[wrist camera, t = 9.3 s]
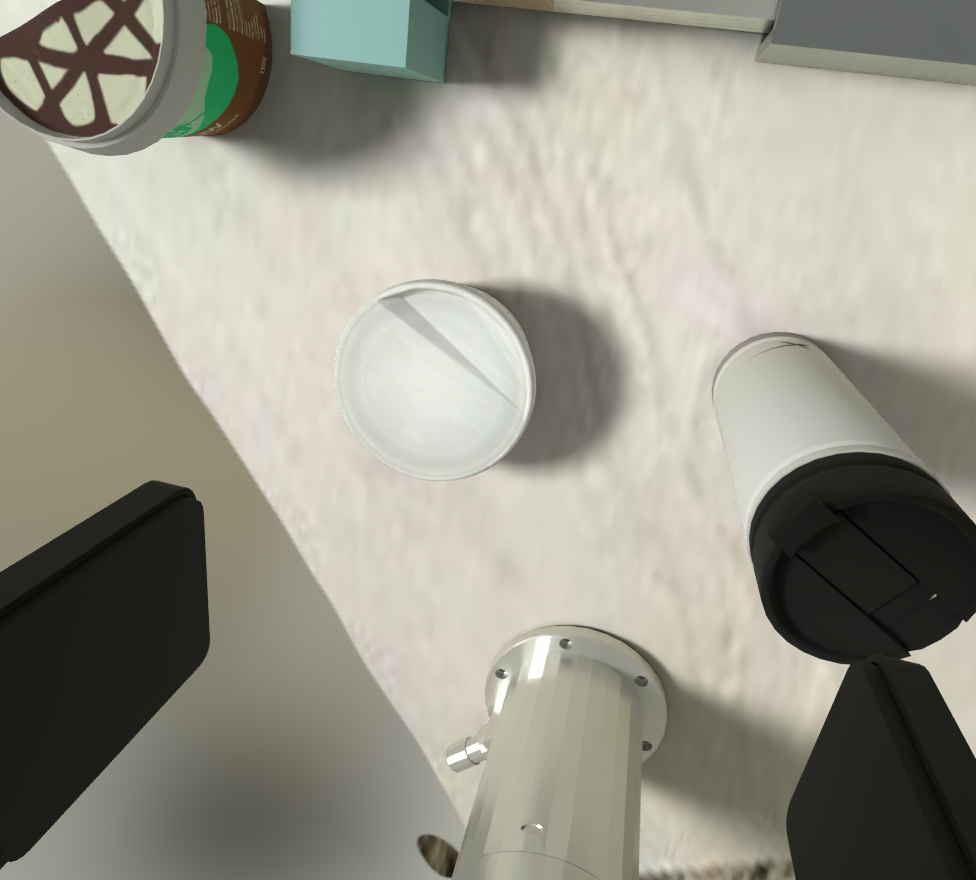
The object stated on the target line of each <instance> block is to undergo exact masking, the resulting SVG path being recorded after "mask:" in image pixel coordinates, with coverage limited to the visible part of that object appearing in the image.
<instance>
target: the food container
mask: <svg viewBox="0 0 976 880" xmlns="http://www.w3.org/2000/svg"><path fill="white" fill-rule="evenodd" d="M271 62H272V39H271V32H270V26H269V21H268V17H267V14H266V10H265V7H264V4H262V3H260V2H259V1H257V0H61V1H59V2H57V3H55V4H53V5H52V6H50V7H49V8H47V9H46V10H44V11H43V12H41V13H40V14H38V15H37V16H36V17H34V18H33V19H31V20H30V21H28V22H27V23H25V24H23V25H22V26H20V27H18V28H17V29H15V30H13V31H11V32H9V33H7V34H5V35H3V36H1V37H0V109H1V110H2V111H3V112H4V113H5V114H6V115H7V116H9V117H10V118H12V119H13V120H15V121H16V122H17V123H19V124H21V125H22V126H24V127H26V128H27V129H29V130H30V131H32V132H33V133H35V134H37V135H39V136H41V137H43V138H45V139H47V140H49V141H52V142H55V143H58V144H61V145H64V146H68V147H71V148H74V149H77V150H80V151H84V152H87V153H90V154H96V155H105V156H116V155H127V154H130V153H133V152H137V151H140V150H143V149H145V148H147V147H148V146H150V145H152V144H154V143H156V142H158V141H159V140H160V139H161V138H173V137H189V136H206V135H219V134H223V133H226V132H230V131H231V130H233V129H235V128H237V127H239V126H240V125H241V124H243V123H244V122H245V121H246V120H247V119H249V117H250V116H251V115H252V114H253V113H254V111H255V110H256V109H257V107H258V105H259V103H260V102H261V100H262V98H263V96H264V93H265V90H266V88H267V85H268V81H269V76H270V72H271Z"/></svg>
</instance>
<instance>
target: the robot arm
mask: <svg viewBox="0 0 976 880" xmlns="http://www.w3.org/2000/svg"><path fill="white" fill-rule="evenodd" d="M204 531H205V530H204V511H203V506H202V504H201V502H199V501H198V500H196V497H195V495H194V493H193V491H192V490H190V489H189V488H185V487H181V486H177V485H173V484H169V483H164V482H160V481H149V482H147V483H145V484H143V485H142V486H140V487H138V488H137V489H135V490H133V491H132V492H131V493H129V494H127V495H125V496H124V497H122V498H120V499H119V500H117V501H116V502H114V503H112V504H111V505H109V506H107V507H106V508H104V509H102V510H101V511H99V512H98V513H96V514H94V515H93V516H91V517H90V518H88V519H86V520H85V521H83V522H81V523H80V524H78V525H76V526H75V527H73V528H72V529H70V530H68V531H67V532H65V533H63V534H62V535H60V536H59V537H57V538H55V539H54V540H52V541H50V542H49V543H47V544H46V545H44V546H42V547H41V548H39V549H37V550H36V551H34V552H33V553H31V554H29V555H28V556H26V557H24V558H23V559H21V560H19V561H18V562H16V563H15V564H13V565H11V566H10V567H8V568H6V569H5V570H3V571H1V572H0V869H1V868H2V867H3V866H4V865H5V864H6V863H7V862H8V861H9V862H12V861H16V860H18V859H19V858H21V857H23V856H24V855H25V854H26V853H27V852H28V851H29V850H30V849H31V848H32V847H33V846H34V845H35V844H36V843H37V842H38V840H40V838H41V837H42V836H43V835H44V834H45V833H46V832H47V831H48V830H49V829H50V828H51V826H52V825H53V824H54V823H55V822H56V821H57V820H58V819H59V818H60V817H61V816H62V815H63V814H64V812H65V811H66V810H67V809H68V808H69V807H70V806H71V805H72V804H73V803H74V802H75V801H76V799H77V798H78V797H79V796H80V795H81V794H82V793H83V792H84V791H85V790H86V788H87V787H88V786H89V785H90V784H91V783H92V782H93V781H94V780H95V779H96V778H97V777H98V776H99V774H100V773H101V772H102V771H103V770H104V769H105V768H106V767H107V766H108V765H109V764H110V762H111V761H112V760H113V759H114V758H115V757H116V756H117V755H118V754H119V753H120V752H121V751H122V749H123V748H124V747H125V746H126V745H127V744H128V743H129V742H130V741H131V740H132V739H133V738H134V737H135V735H136V734H137V733H138V732H139V731H140V730H141V729H142V728H143V727H144V726H145V725H146V724H147V722H148V721H149V720H150V719H151V718H152V717H153V716H154V715H155V714H156V713H157V712H158V710H159V709H160V708H161V707H162V706H163V705H164V704H165V703H166V702H167V701H168V699H169V698H170V697H171V696H172V695H173V694H174V693H175V692H176V691H177V690H178V689H179V688H180V687H181V686H182V684H183V683H184V682H185V681H186V680H187V679H188V678H189V677H190V676H191V675H192V674H193V673H194V671H195V670H196V669H197V668H198V667H199V666H200V665H201V663H202V662H203V660H204V658H205V657H206V654H207V652H208V649H209V645H210V633H209V615H208V614H209V612H208V591H207V571H206V552H205V532H204ZM485 703H486V707H487V710H488V714H489V717H490V721H489V724H487V725H485V726H482V727H481V728H480V730H479V731H478V735H475V736H473V737H467V738H465V739H463V740H460V741H458V742H456V743H453V744H451V745H450V746H448V748H447V751H446V758H447V761H448V764H449V766H450V767H451V769H452V770H453V771H455V772H461V771H463V770H466V769H468V768H471V767H473V766H475V765H478V764H479V763H480V762H482V761H484V760H486V763H485V766H484V770H483V773H482V776H481V780H480V783H479V787H478V790H477V794H476V797H475V800H474V804H473V807H472V811H471V814H470V818H469V821H468V825H467V828H466V831H465V835H464V839H463V842H462V845H461V849H460V852H459V855H458V859H457V862H456V866H455V869H454V873H453V876H452V879H451V880H639V849H640V814H641V778H642V763H643V762H644V761H646V760H647V759H649V758H650V756H651V755H652V754H653V753H654V752H655V751H656V749H657V748H658V747H659V745H660V743H661V741H662V739H663V737H664V734H665V729H666V724H667V704H666V698H665V692H664V690H663V687H662V685H661V682H660V680H659V678H658V676H657V675H656V673H655V672H654V671H653V669H652V668H651V666H650V665H649V664H648V663H647V662H646V661H645V660H644V659H643V658H642V657H641V656H640V655H639V654H638V653H637V652H636V651H634V650H633V649H632V648H630V647H629V646H627V645H626V644H625V643H623V642H621V641H619V640H617V639H615V638H613V637H611V636H609V635H607V634H604V633H601V632H598V631H595V630H592V629H588V628H581V627H575V626H551V627H545V628H539V629H535V630H533V631H530V632H527V633H525V634H522V635H520V636H519V637H517V638H515V639H514V640H512V641H511V642H509V643H508V644H507V645H506V646H505V647H504V648H503V649H502V650H501V651H500V652H499V653H498V655H497V657H496V658H495V660H494V661H493V663H492V666H491V669H490V671H489V674H488V677H487V681H486V687H485ZM786 825H787V836H788V841H789V847H790V852H791V857H792V862H793V867H794V873H795V878H796V880H976V758H975V757H974V755H973V753H972V751H971V749H970V747H969V745H968V744H967V742H966V740H965V738H964V736H963V734H962V732H961V731H960V729H959V727H958V725H957V723H956V721H955V719H954V717H953V716H952V714H951V712H950V710H949V708H948V706H947V704H946V703H945V701H944V699H943V697H942V695H941V693H940V691H939V690H938V688H937V686H936V684H935V682H934V680H933V678H932V676H931V675H930V673H929V671H928V670H927V669H926V668H925V667H924V666H922V665H920V664H916V663H912V662H908V661H904V660H900V659H896V658H891V657H887V656H883V655H879V654H872V655H870V656H869V657H868V658H867V659H866V661H865V662H860V661H854V662H853V663H852V664H851V665H850V666H849V668H848V670H847V672H846V675H845V677H844V679H843V681H842V684H841V686H840V688H839V691H838V693H837V695H836V698H835V700H834V702H833V704H832V707H831V709H830V711H829V714H828V716H827V718H826V721H825V723H824V725H823V727H822V730H821V732H820V734H819V737H818V739H817V741H816V743H815V746H814V748H813V750H812V753H811V755H810V757H809V760H808V762H807V764H806V766H805V769H804V771H803V773H802V776H801V778H800V780H799V783H798V785H797V787H796V789H795V792H794V794H793V796H792V799H791V801H790V804H789V807H788V812H787V821H786Z"/></svg>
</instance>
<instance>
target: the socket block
mask: <svg viewBox="0 0 976 880" xmlns="http://www.w3.org/2000/svg"><path fill="white" fill-rule="evenodd" d="M451 3H452V1H447V0H291V53H290V54H292V55H295V56H299V57H302V58H305V59H308V60H312V61H315V62H318V63H321V64H325V65H328V66H331V67H334V68H337V69H341V70H344V71H349V72H357V73H365V74H373V75H381V76H389V77H398V78H406V79H414V80H422V81H430V82H438V83H444V82H445V71H446V60H447V48H448V37H449V26H450V15H451Z"/></svg>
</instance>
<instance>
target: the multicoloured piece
mask: <svg viewBox="0 0 976 880" xmlns="http://www.w3.org/2000/svg"><path fill="white" fill-rule="evenodd" d="M447 1H457V2H465V3H475V4H485V5H494V6H504V7H514V8H524V9H533V10H543V11H554V12H564V13H573V14H583V15H593V16H602V17H612V18H622V19H632V20H641V21H651V22H661V23H671V24H680V25H690V26H700V27H709V28H719V29H729V30H739V31H748V32H758V33H768V34H770V32H771V31H772V30H773V27H774V24H775V20H776V16H777V12H778V8H779V4H780V0H447Z"/></svg>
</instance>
